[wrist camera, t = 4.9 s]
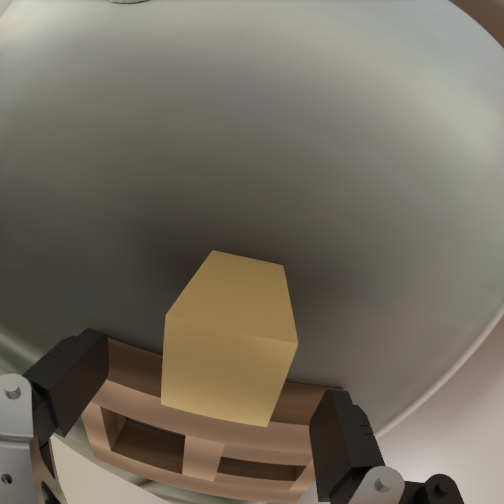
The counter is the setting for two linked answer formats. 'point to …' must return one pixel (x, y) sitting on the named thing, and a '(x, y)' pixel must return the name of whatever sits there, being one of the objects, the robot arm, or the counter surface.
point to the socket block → (200, 436)
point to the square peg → (229, 341)
